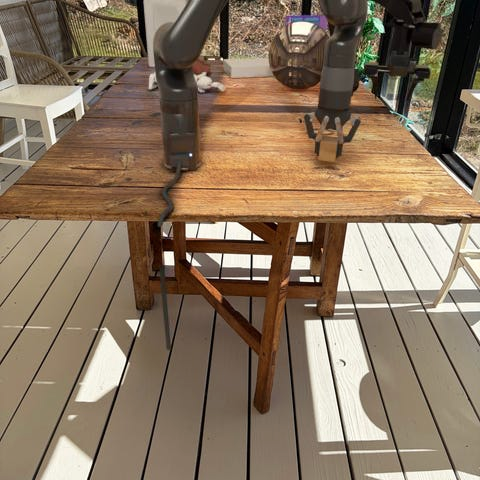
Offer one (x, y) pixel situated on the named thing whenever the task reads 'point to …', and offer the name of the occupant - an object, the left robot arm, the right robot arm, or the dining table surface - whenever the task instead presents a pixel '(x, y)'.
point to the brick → (328, 148)
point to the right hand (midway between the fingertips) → (391, 99)
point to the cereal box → (308, 19)
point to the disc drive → (247, 67)
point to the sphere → (298, 54)
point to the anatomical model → (201, 66)
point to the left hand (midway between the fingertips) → (327, 155)
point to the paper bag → (159, 19)
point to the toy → (201, 81)
